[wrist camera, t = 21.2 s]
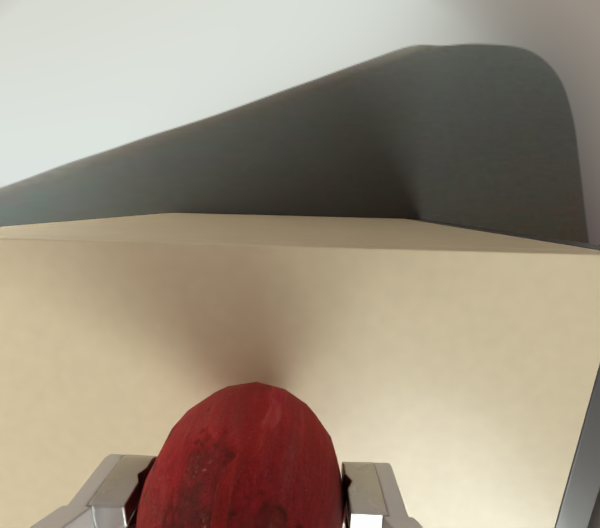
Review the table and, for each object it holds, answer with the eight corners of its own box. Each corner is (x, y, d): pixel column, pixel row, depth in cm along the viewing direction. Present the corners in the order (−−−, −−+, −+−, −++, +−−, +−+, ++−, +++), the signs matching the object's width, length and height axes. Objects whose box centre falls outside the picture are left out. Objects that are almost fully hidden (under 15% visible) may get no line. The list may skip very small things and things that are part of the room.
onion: (179, 356, 12) (-63, 662, 4) (315, 330, 11) (341, 606, 4) (218, 469, 13) (90, 869, 5) (341, 447, 13) (402, 843, 5)
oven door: (470, 220, 34) (825, 259, 11) (436, 445, 41) (610, 765, 18) (408, 218, 34) (630, 254, 11) (384, 444, 41) (490, 760, 18)
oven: (405, 218, 34) (630, 255, 11) (382, 443, 41) (489, 765, 18) (173, 212, 34) (-107, 235, 11) (188, 437, 41) (36, 750, 18)
